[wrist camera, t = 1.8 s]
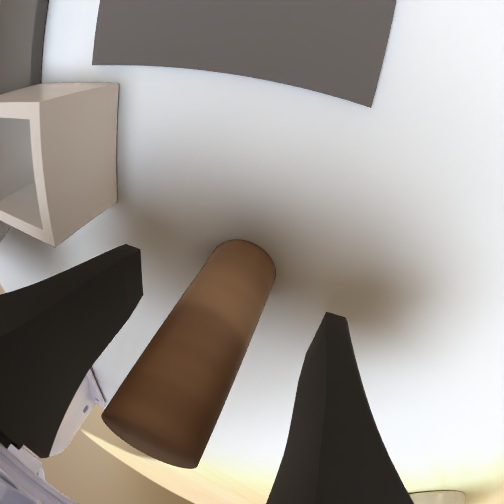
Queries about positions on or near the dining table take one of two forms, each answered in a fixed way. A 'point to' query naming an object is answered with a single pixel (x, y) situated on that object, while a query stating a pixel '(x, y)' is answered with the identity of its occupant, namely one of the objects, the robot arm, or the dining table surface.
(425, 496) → the utensil holder
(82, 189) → the case
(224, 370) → the rod
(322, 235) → the dining table surface
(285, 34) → the pad
